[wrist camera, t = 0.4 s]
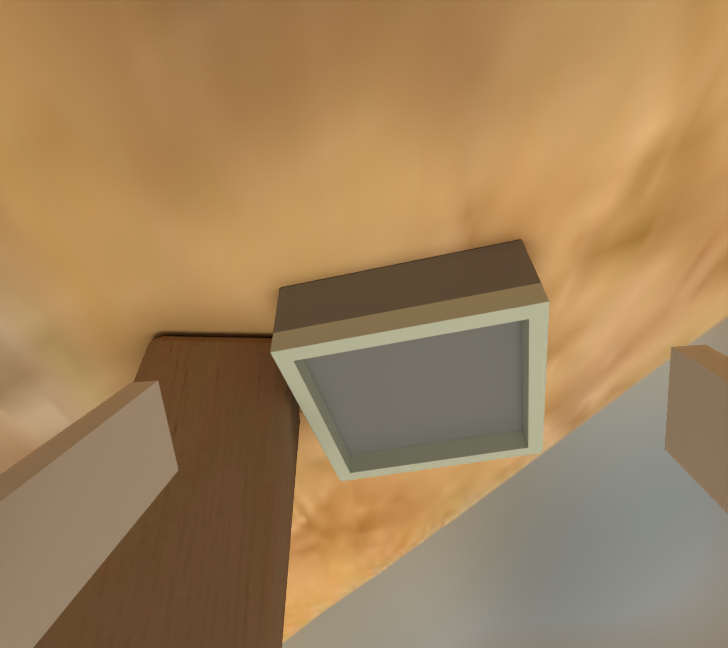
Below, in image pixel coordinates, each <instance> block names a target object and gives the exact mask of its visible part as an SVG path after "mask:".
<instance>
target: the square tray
mask: <svg viewBox="0 0 728 648" xmlns="http://www.w3.org/2000/svg"><path fill="white" fill-rule="evenodd" d="M548 320H549V300H548V297H547V295H546V293H545V291H544V289H543V286H542V284H541V282H540V280H539V277H538V275H537V273H536V271H535V269H534V266H533V264H532V262H531V260H530V257H529V255H528V253H527V251H526V249H525V246H524V244H523V242H522V240H517V241H512V242H507V243H502V244H497V245H492V246H487V247H482V248H477V249H472V250H467V251H462V252H457V253H452V254H447V255H442V256H437V257H432V258H427V259H422V260H417V261H412V262H407V263H402V264H397V265H392V266H387V267H383V268H378V269H373V270H368V271H363V272H358V273H353V274H348V275H343V276H338V277H333V278H328V279H323V280H318V281H313V282H308V283H303V284H298V285H293V286H288V287H283V288H280V290H279V297H278V304H277V310H276V317H275V324H274V331H273V337H272V344H271V351H270V353H271V355H272V357H273V358H274V360H275V362H276V364H277V366H278V368H279V369H280V371H281V373H282V375H283V377H284V379H285V380H286V382H287V384H288V386H289V388H290V390H291V391H292V393H293V395H294V397H295V399H296V401H297V402H298V404H299V406H300V408H301V410H302V411H303V413H304V415H305V417H306V419H307V421H308V422H309V424H310V426H311V428H312V430H313V432H314V433H315V435H316V437H317V439H318V441H319V443H320V444H321V446H322V448H323V450H324V452H325V454H326V455H327V457H328V459H329V461H330V463H331V465H332V466H333V468H334V470H335V472H336V474H337V476H338V477H339V479H340V481H346V480H353V479H360V478H368V477H375V476H382V475H389V474H396V473H403V472H410V471H417V470H424V469H431V468H439V467H446V466H453V465H460V464H467V463H474V462H481V461H488V460H495V459H502V458H510V457H517V456H524V455H531V454H538V453H542V451H543V429H544V408H545V386H546V364H547V342H548Z"/></svg>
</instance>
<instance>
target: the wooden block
mask: <svg viewBox="0 0 728 648" xmlns="http://www.w3.org/2000/svg"><path fill="white" fill-rule="evenodd" d="M271 344H272V338H228V337H173V336H162V337H159V338H155V339H153V340H152V341H151V342H150V343H149V345H148V348H147V350H146V353H145V355H144V358H143V360H142V363H141V365H140V368H139V370H138V373H137V375H136V378H135V380H134V382H144V381H158V382H159V387H160V391H161V396H162V400H163V404H164V409H165V413H166V417H167V422H168V426H169V431H170V435H171V439H172V444H173V448H174V453H175V457H176V461H177V466H178V471H177V473H176V474H175V475H174V476H173V477H172V479H171V480H170V481H169V482H168V484H167V485H166V486H165V487H164V488H163V490H162V491H161V492H160V493H159V495H158V496H157V497H156V498H155V499H154V501H153V502H152V503H151V504H150V506H149V507H148V508H147V509H146V511H145V512H144V513H143V514H142V515H141V517H140V518H139V519H138V520H137V522H136V523H135V524H134V525H133V526H132V528H131V529H130V530H129V531H128V533H127V534H126V535H125V536H124V537H123V539H122V540H121V541H120V542H119V544H118V545H117V546H116V547H115V548H114V550H113V551H112V552H111V553H110V555H109V556H108V557H107V558H106V559H105V561H104V562H103V563H102V564H101V566H100V567H99V568H98V569H97V570H96V572H95V573H94V574H93V575H92V577H91V578H90V579H89V580H88V581H87V583H86V584H85V585H84V586H83V588H82V589H81V590H80V591H79V592H78V594H77V595H76V596H75V597H74V599H73V600H72V601H71V602H70V603H69V605H68V606H67V607H66V608H65V610H64V611H63V612H62V613H61V614H60V616H59V617H58V618H57V619H56V621H55V622H54V623H53V624H52V625H51V627H50V628H49V629H48V630H47V632H46V633H45V634H44V635H43V637H42V638H41V639H40V640H39V641H38V643H37V644H36V645H35V646H34V648H282V639H283V626H284V613H285V601H286V588H287V576H288V563H289V551H290V538H291V525H292V513H293V500H294V488H295V475H296V462H297V450H298V437H299V425H300V415H299V404H298V402H297V401H296V399H295V397H294V395H293V393H292V391H291V390H290V388H289V386H288V384H287V382H286V380H285V379H284V377H283V375H282V373H281V371H280V369H279V368H278V366H277V364H276V362H275V360H274V358H273V357H272V355H271V353H270V351H271Z"/></svg>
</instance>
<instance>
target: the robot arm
mask: <svg viewBox="0 0 728 648" xmlns="http://www.w3.org/2000/svg"><path fill="white" fill-rule="evenodd" d="M665 450H666V451H667V452H668V453H669V454H670V455H671V456H672V457H673V458H674V459H675V460H676V461H677V462H678V463H679V464H680V465H681V466H682V467H683V468H684V469H685V470H686V471H687V472H688V474H689V475H690V476H691V477H692V478H693V479H694V480H695V481H696V482H697V483H698V484H699V485H700V486H701V487H702V488H703V489H704V490H705V491H706V492H707V493H708V494H709V495H710V496H711V497H712V498H713V499H714V500H715V501H716V502H717V503H718V504H719V505H720V506H721V507H722V509H723V510H724V511H726V512H727V513H728V357H727V356H726V355H724V354H722V353H720V352H718V351H716V350H714V349H712V348H711V347H709V346H707V345H693V346H677V347H671V360H670V376H669V391H668V407H667V423H666V438H665ZM177 471H178V466H177V461H176V457H175V453H174V448H173V444H172V439H171V435H170V431H169V426H168V422H167V417H166V413H165V409H164V404H163V400H162V396H161V391H160V387H159V382H158V381H144V382H131V383H130V384H129V385H127V386H126V387H124V388H123V389H121V390H120V391H119V392H117V393H116V394H114V395H113V396H111V397H110V398H109V399H107V400H106V401H104V402H103V403H101V404H100V405H99V406H97V407H96V408H94V409H93V410H92V411H90V412H89V413H87V414H86V415H84V416H83V417H82V418H80V419H79V420H77V421H76V422H74V423H73V424H72V425H70V426H69V427H67V428H66V429H64V430H63V431H62V432H60V433H59V434H57V435H56V436H54V437H53V438H52V439H50V440H49V441H47V442H46V443H45V444H43V445H42V446H40V447H39V448H37V449H36V450H35V451H33V452H32V453H30V454H29V455H27V456H26V457H25V458H23V459H22V460H20V461H19V462H17V463H16V464H15V465H13V466H12V467H10V468H9V469H7V470H6V471H5V472H3V473H2V474H0V648H34V646H35V645H36V644H37V643H38V641H39V640H40V639H41V638H42V637H43V635H44V634H45V633H46V632H47V630H48V629H49V628H50V627H51V625H52V624H53V623H54V622H55V621H56V619H57V618H58V617H59V616H60V614H61V613H62V612H63V611H64V610H65V608H66V607H67V606H68V605H69V603H70V602H71V601H72V600H73V599H74V597H75V596H76V595H77V594H78V592H79V591H80V590H81V589H82V588H83V586H84V585H85V584H86V583H87V581H88V580H89V579H90V578H91V577H92V575H93V574H94V573H95V572H96V570H97V569H98V568H99V567H100V566H101V564H102V563H103V562H104V561H105V559H106V558H107V557H108V556H109V555H110V553H111V552H112V551H113V550H114V548H115V547H116V546H117V545H118V544H119V542H120V541H121V540H122V539H123V537H124V536H125V535H126V534H127V533H128V531H129V530H130V529H131V528H132V526H133V525H134V524H135V523H136V522H137V520H138V519H139V518H140V517H141V515H142V514H143V513H144V512H145V511H146V509H147V508H148V507H149V506H150V504H151V503H152V502H153V501H154V499H155V498H156V497H157V496H158V495H159V493H160V492H161V491H162V490H163V488H164V487H165V486H166V485H167V484H168V482H169V481H170V480H171V479H172V477H173V476H174V475H175V474H176V473H177Z"/></svg>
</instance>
